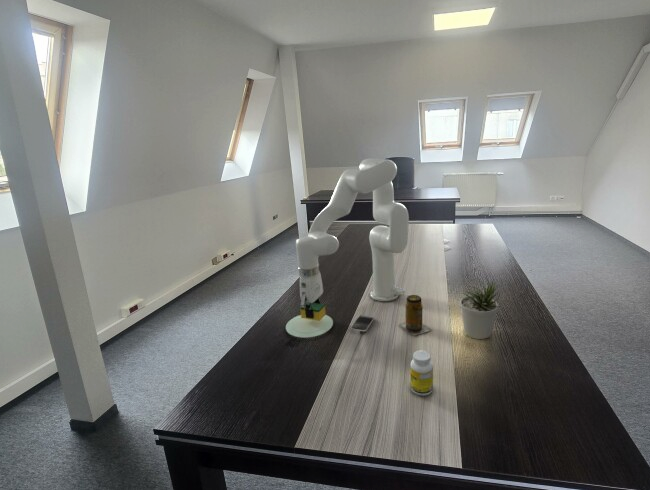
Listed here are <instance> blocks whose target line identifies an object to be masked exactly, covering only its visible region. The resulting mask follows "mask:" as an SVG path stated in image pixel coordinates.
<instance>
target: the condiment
mask: <svg viewBox="0 0 650 490" xmlns="http://www.w3.org/2000/svg"><path fill="white" fill-rule="evenodd" d="M423 317H424V316H423V304H422V297H421V296H420V295H418V294H410V295H407V297H406V303H405V323H402V324H400V327H402V328H403V329H404V330H405V331H407V332H408V333H409V334H411V336H414V337H415V336H418V335H422V334H424V333H427V332H429V331H431V330H430V329H429V328H428V327H426V326H425V325H424V324H423Z"/></svg>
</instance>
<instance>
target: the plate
mask: <svg viewBox="0 0 650 490" xmlns="http://www.w3.org/2000/svg"><path fill="white" fill-rule="evenodd" d="M333 325H334V320H333V318H332V317H331V316H329V315H327V314H326V315H325V316H324V317H323V318H322V319H321V320H320V321H317V320H311V319H305V318H301V314H299V315H296V316H295V317H292V318H291V319H290V320H288V321H287V323H286V325H285V331H286V332H287V333H288V335H291V336H293V337H296V338H313V337H317V336H321V335H323V334H325V333H327V332H328V331H330V329H331V328H332V327H333Z"/></svg>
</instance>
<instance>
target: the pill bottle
mask: <svg viewBox="0 0 650 490" xmlns="http://www.w3.org/2000/svg"><path fill="white" fill-rule="evenodd" d="M409 368H410V372H409V373H410V390H411V391H412V393H414V394H415V395H417V396H428V395H430V394H431V393H432V392H433V389H434V364H433V361H432V360H431V353H429V352H428V351H427V350H421V349H420V350H415V351H414V352H413V355H412V360H411V361H410V367H409Z"/></svg>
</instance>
